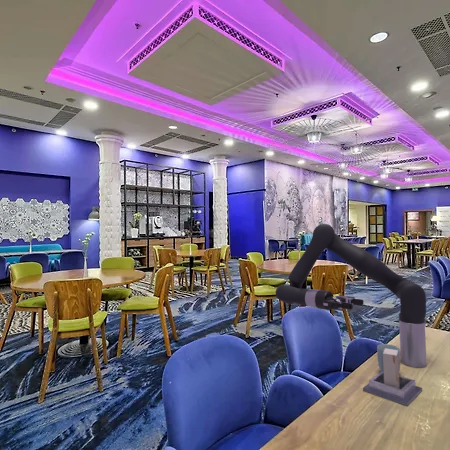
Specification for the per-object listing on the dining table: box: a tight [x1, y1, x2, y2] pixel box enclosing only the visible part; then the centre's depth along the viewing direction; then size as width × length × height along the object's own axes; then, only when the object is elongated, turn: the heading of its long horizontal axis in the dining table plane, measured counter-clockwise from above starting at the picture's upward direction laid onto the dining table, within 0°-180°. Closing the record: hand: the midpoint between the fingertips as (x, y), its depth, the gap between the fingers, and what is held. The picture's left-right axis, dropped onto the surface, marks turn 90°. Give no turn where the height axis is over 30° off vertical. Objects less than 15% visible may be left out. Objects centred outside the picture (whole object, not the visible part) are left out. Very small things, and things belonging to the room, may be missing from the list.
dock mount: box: [362, 371, 423, 407], centre depth 110 cm, size 14×14×4 cm
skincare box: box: [383, 348, 400, 389], centre depth 110 cm, size 6×4×12 cm
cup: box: [376, 343, 401, 372], centre depth 123 cm, size 8×8×10 cm
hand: (357, 304), depth 119 cm, fingers open, 8 cm apart
